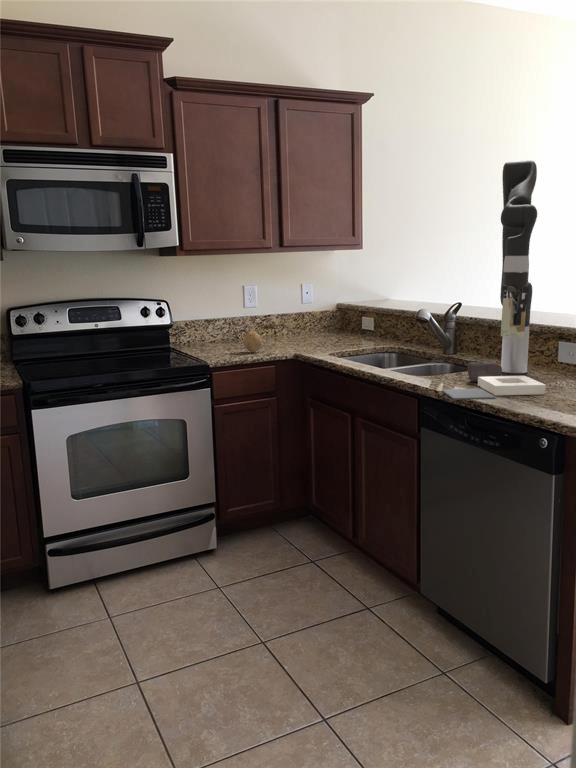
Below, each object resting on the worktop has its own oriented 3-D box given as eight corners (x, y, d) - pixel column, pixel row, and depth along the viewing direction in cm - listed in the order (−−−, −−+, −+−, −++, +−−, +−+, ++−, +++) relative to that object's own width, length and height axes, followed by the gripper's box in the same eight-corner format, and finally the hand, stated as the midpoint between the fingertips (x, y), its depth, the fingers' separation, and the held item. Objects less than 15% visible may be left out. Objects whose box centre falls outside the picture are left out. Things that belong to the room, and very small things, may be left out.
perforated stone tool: (496, 378, 233) (497, 358, 231) (506, 380, 228) (507, 361, 226) (461, 381, 227) (462, 361, 226) (471, 384, 222) (472, 364, 221)
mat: (441, 391, 211) (441, 389, 211) (480, 390, 212) (481, 388, 212) (453, 399, 199) (453, 398, 199) (495, 398, 199) (495, 396, 199)
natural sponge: (238, 352, 302) (238, 331, 301) (253, 350, 308) (253, 329, 306) (250, 354, 296) (250, 332, 294) (265, 352, 301) (265, 331, 300)
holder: (477, 385, 219) (478, 376, 219) (524, 384, 220) (524, 375, 220) (494, 395, 204) (495, 385, 203) (545, 394, 205) (545, 384, 204)
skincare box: (509, 338, 205) (511, 299, 203) (499, 336, 209) (501, 298, 207) (525, 336, 208) (527, 298, 206) (515, 335, 212) (517, 297, 209)
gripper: (495, 270, 211) (493, 322, 215) (513, 271, 197) (510, 327, 201) (518, 269, 212) (515, 321, 215) (537, 271, 198) (534, 326, 201)
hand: (513, 324), depth 208 cm, fingers closed on skincare box, 5 cm apart
